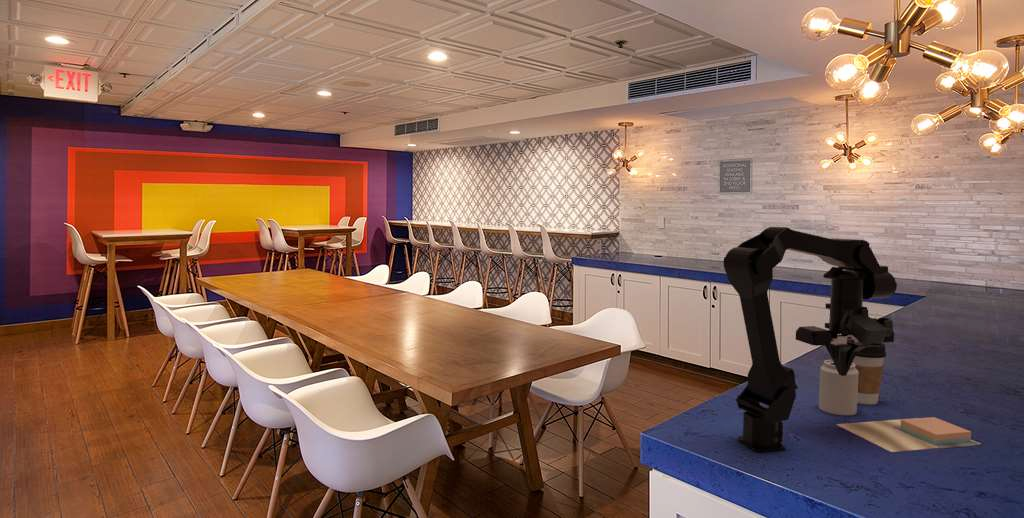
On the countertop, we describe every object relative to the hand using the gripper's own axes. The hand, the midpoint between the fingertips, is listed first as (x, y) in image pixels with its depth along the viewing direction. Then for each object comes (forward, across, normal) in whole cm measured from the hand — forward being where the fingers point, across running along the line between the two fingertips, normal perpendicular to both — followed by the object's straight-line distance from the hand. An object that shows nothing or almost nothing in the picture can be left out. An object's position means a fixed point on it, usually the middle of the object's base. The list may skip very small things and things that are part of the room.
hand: (842, 375), depth 119 cm
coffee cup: (+12, +17, +14) cm, 25 cm away
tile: (+10, +11, -8) cm, 16 cm away
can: (+12, +7, +9) cm, 17 cm away
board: (+12, +10, -6) cm, 17 cm away
